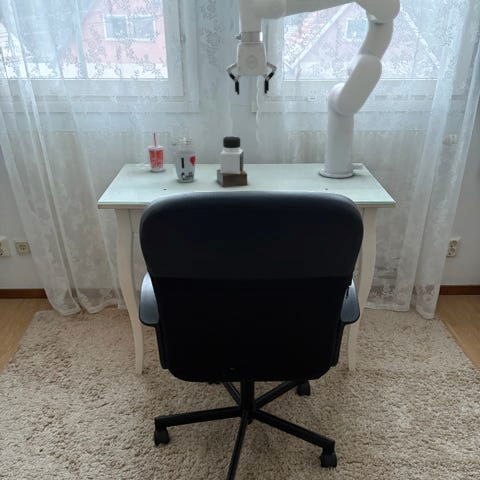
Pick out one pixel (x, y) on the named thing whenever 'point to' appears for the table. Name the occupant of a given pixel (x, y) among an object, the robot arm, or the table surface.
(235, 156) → the medicine bottle
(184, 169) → the cup
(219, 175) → the walnut block
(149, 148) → the beverage cup
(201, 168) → the table surface
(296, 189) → the table surface
